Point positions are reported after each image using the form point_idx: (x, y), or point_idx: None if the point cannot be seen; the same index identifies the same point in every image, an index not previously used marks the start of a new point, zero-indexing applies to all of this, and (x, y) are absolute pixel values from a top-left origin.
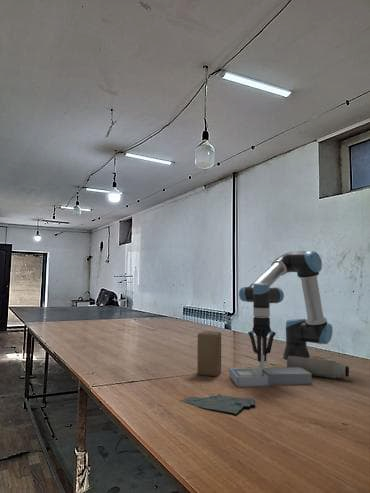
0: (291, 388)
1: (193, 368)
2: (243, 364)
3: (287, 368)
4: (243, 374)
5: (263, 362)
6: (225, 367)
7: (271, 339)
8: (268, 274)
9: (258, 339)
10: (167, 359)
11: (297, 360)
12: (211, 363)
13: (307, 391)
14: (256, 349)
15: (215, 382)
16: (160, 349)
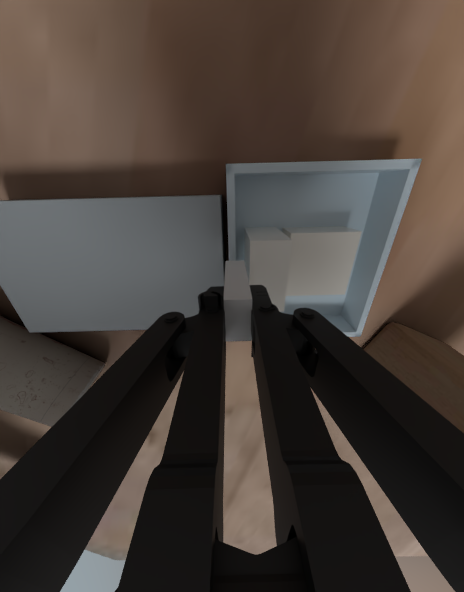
0: (116, 112)
1: None
2: (236, 433)
3: (94, 315)
4: (341, 242)
5: (231, 274)
6: None
7: (47, 468)
8: None
9: (340, 463)
10: None
11: (27, 382)
12: (450, 358)
13: (24, 26)
14: (311, 329)
15: (440, 244)
16: (389, 519)
